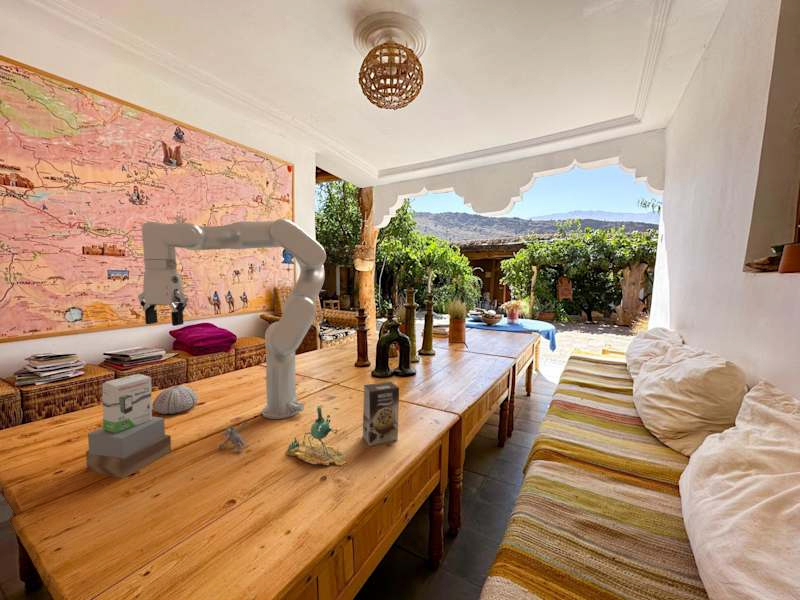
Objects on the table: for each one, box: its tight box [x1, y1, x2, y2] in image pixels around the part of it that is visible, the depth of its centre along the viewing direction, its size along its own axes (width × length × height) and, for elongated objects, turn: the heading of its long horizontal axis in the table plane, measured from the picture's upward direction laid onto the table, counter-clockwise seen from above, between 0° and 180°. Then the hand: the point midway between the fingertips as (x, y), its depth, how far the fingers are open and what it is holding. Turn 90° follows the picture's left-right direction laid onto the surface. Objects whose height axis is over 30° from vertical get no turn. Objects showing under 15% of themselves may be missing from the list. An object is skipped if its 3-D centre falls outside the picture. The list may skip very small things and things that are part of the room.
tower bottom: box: [85, 434, 172, 480], centre depth 84 cm, size 12×12×5 cm
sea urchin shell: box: [152, 385, 199, 415], centre depth 116 cm, size 13×14×8 cm
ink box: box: [101, 373, 153, 433], centre depth 83 cm, size 9×5×12 cm, turn 159°
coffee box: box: [362, 381, 400, 447], centre depth 98 cm, size 9×6×16 cm
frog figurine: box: [285, 406, 347, 466], centre depth 88 cm, size 10×18×15 cm, turn 66°
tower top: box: [87, 416, 166, 459], centre depth 83 cm, size 10×11×5 cm
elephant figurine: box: [218, 421, 248, 454], centre depth 92 cm, size 9×5×8 cm
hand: (164, 324), depth 97 cm, fingers open, 9 cm apart
